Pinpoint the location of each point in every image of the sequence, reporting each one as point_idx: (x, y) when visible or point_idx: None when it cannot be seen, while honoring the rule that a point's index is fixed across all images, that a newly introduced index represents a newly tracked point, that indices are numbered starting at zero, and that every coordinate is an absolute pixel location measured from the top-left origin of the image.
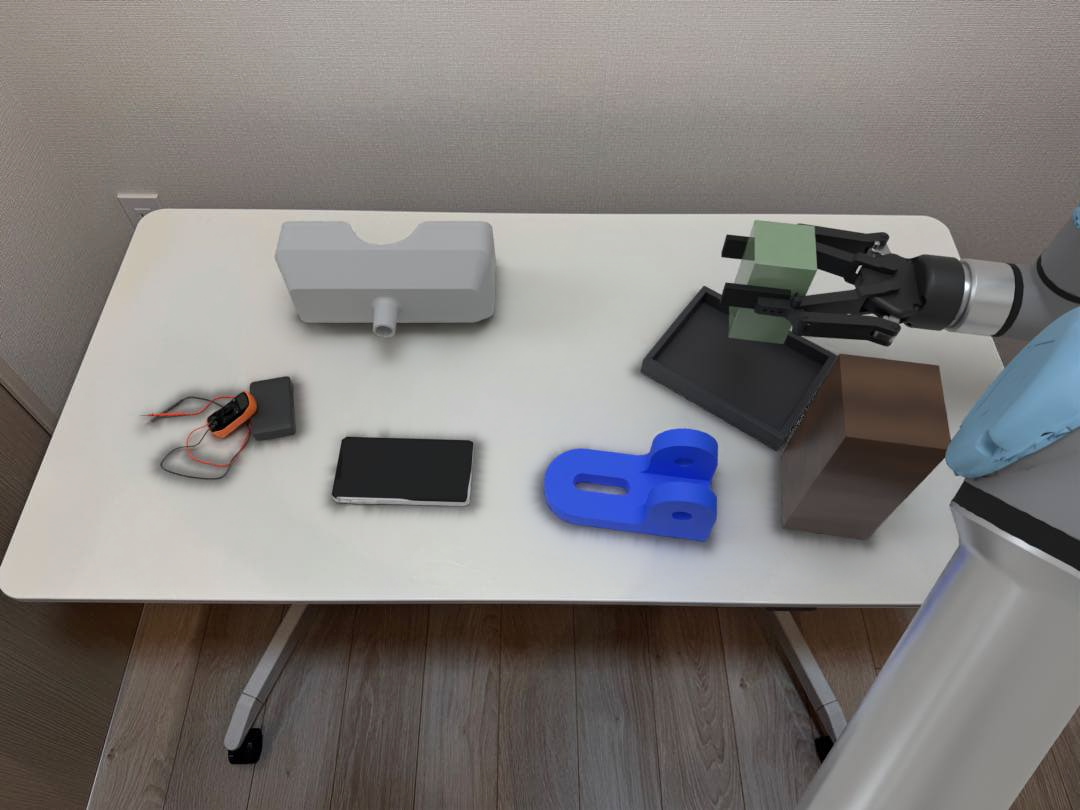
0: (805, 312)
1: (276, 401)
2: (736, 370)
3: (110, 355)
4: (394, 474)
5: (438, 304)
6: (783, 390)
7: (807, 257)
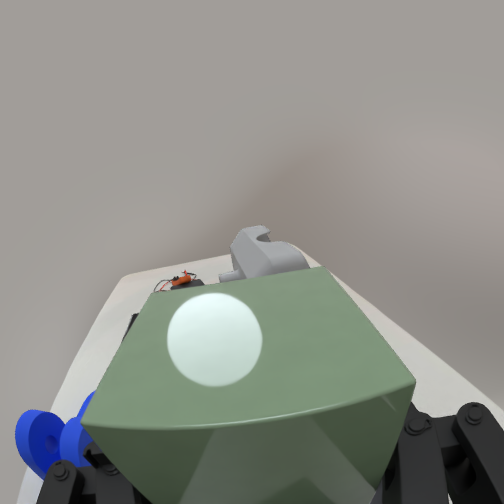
0: (71, 477)
1: (188, 286)
2: None
3: (215, 258)
4: None
5: None
6: None
7: (159, 392)
